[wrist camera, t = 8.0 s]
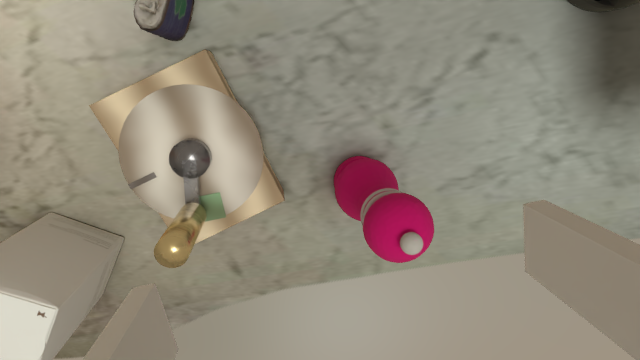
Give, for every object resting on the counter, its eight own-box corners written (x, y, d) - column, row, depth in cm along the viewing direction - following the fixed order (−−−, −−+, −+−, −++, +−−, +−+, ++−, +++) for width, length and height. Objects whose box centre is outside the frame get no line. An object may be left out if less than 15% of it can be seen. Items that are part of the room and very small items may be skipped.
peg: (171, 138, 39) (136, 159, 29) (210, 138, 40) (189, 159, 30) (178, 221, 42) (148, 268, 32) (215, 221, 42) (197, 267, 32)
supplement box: (49, 209, 44) (-59, 272, 30) (126, 236, 46) (60, 308, 32) (27, 273, 46) (-85, 363, 31) (102, 297, 48) (29, 392, 33)
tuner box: (219, 48, 42) (213, 44, 38) (290, 187, 47) (292, 197, 43) (97, 106, 42) (79, 110, 38) (182, 239, 47) (174, 254, 43)
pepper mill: (353, 217, 49) (405, 307, 30) (318, 177, 47) (349, 246, 28) (396, 182, 48) (478, 250, 29) (362, 139, 46) (426, 183, 27)
